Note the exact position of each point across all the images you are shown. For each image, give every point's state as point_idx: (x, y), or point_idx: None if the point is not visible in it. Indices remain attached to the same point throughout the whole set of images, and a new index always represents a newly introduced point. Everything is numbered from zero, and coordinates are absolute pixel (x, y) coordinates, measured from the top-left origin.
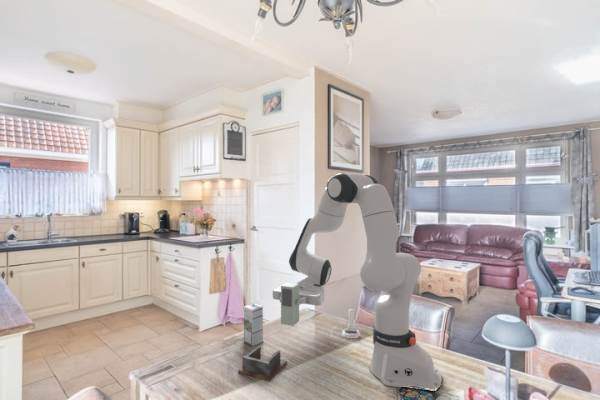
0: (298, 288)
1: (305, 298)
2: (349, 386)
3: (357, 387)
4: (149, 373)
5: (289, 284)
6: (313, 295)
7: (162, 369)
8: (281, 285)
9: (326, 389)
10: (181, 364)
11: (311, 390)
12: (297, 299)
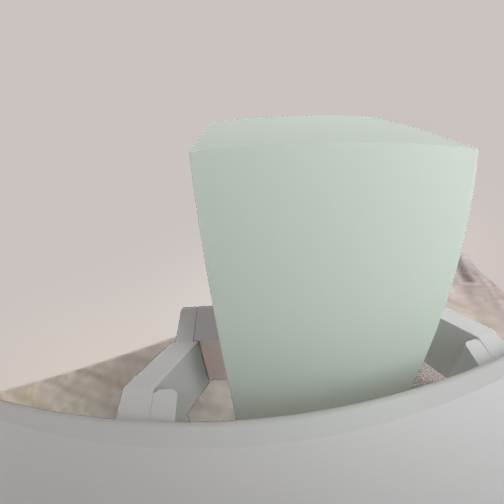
0: (205, 236)
1: (126, 400)
2: (54, 400)
3: (38, 401)
4: (460, 259)
5: (339, 125)
6: (5, 412)
7: (464, 271)
8: (378, 118)
9: (104, 375)
10: (466, 291)
11: (137, 361)
12: (211, 319)
